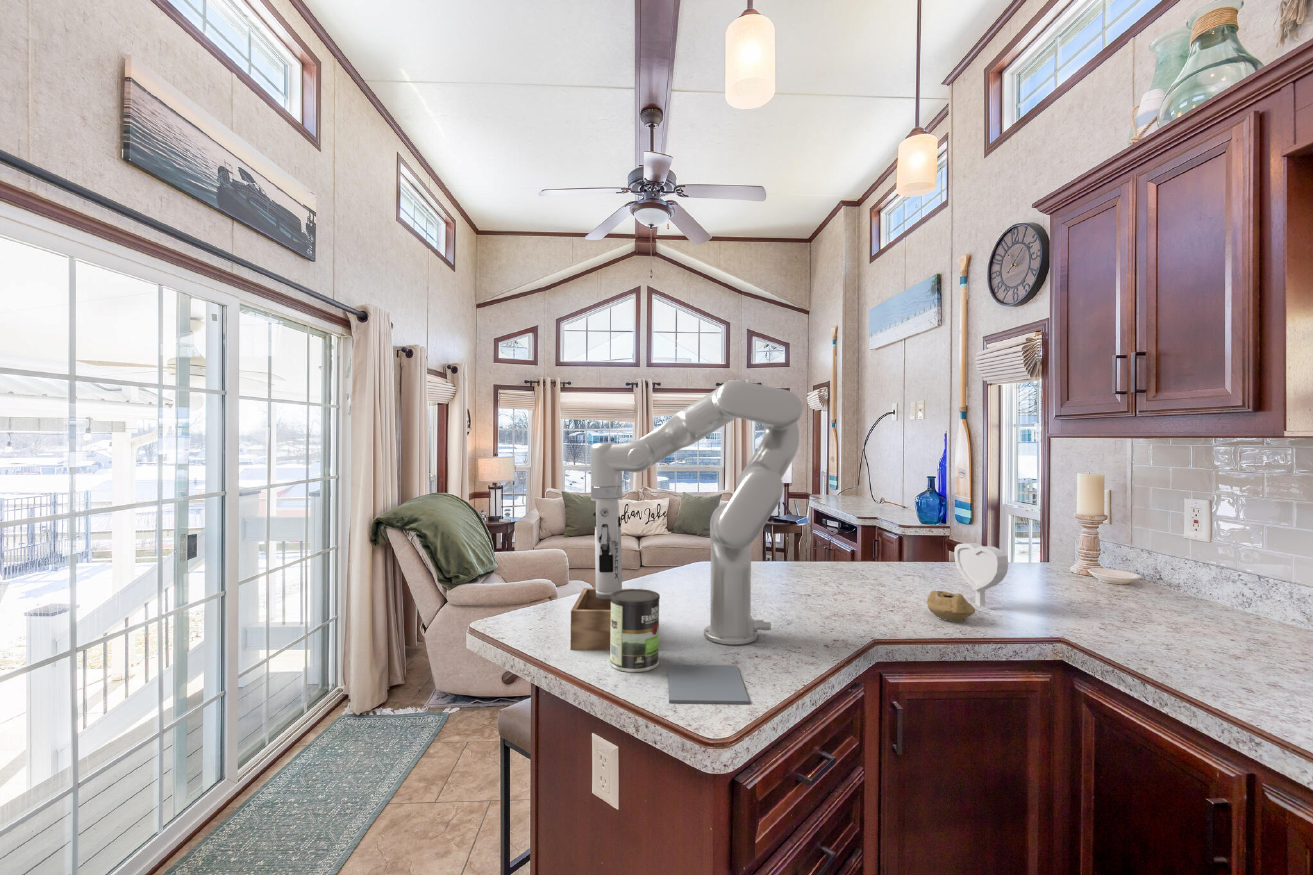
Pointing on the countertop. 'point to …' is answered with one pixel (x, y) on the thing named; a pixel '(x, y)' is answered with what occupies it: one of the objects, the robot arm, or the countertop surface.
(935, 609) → the oil lamp
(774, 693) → the countertop surface
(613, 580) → the travel mug
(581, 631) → the crate
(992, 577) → the heart sculpture
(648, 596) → the coffee can
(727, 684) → the mat
